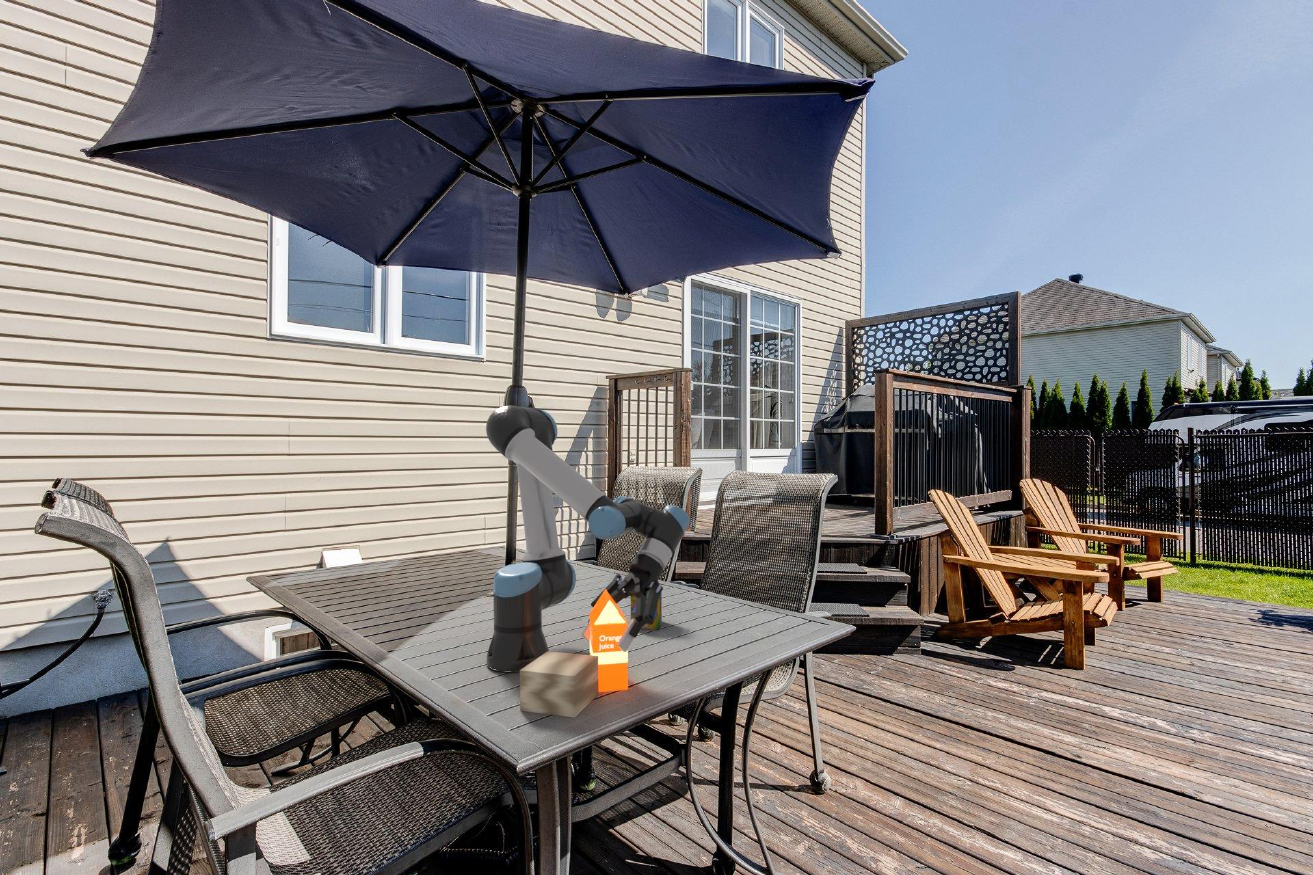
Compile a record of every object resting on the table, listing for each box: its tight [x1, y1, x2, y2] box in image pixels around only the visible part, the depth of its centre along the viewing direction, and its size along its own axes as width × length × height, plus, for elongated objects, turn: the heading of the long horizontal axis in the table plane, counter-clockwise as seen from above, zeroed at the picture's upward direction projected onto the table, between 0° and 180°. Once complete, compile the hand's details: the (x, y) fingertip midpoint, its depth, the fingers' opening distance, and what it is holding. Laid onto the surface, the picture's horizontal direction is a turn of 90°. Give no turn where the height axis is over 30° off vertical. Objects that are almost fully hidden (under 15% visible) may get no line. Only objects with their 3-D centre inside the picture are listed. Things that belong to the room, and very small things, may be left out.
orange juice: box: [588, 588, 629, 693], centre depth 133 cm, size 8×9×20 cm
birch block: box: [519, 650, 600, 718], centre depth 124 cm, size 12×12×8 cm
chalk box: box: [630, 584, 663, 630], centre depth 178 cm, size 9×9×15 cm
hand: (603, 643), depth 131 cm, fingers closed on orange juice, 11 cm apart
